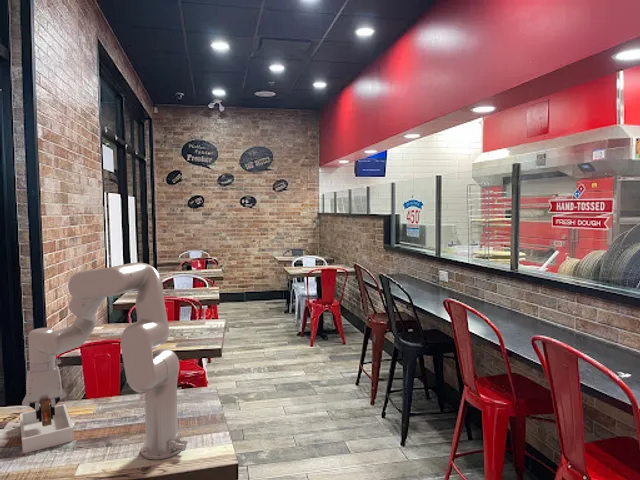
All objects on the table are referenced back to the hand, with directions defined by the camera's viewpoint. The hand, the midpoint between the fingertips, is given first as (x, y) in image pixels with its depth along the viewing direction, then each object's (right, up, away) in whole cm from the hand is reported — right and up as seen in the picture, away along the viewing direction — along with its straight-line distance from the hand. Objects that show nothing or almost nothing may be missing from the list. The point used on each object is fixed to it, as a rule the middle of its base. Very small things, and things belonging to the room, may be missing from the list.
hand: (45, 418), depth 157 cm
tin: (0, -1, 0) cm, 1 cm away
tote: (0, -5, 0) cm, 5 cm away
